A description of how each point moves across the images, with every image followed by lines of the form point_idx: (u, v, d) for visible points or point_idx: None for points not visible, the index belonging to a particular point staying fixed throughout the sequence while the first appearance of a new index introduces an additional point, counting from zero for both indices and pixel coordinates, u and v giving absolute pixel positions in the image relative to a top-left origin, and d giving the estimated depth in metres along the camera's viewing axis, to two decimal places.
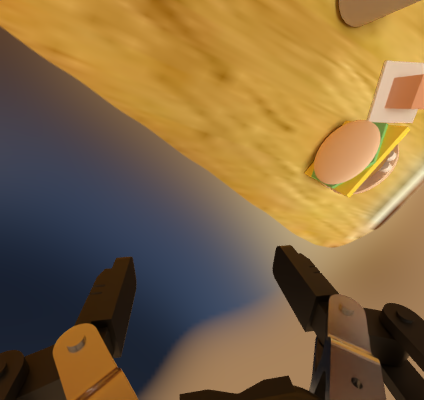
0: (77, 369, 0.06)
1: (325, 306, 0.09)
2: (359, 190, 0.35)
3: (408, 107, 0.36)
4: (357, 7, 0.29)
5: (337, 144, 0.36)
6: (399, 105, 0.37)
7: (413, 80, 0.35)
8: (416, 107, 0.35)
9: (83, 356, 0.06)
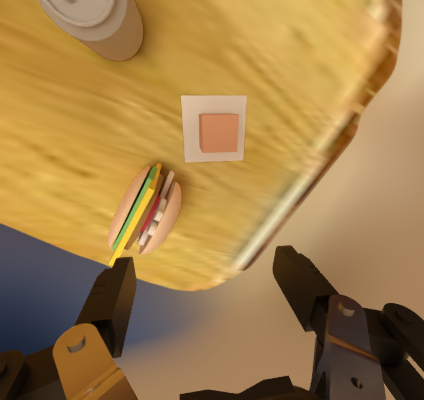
0: (77, 369, 0.06)
1: (325, 306, 0.09)
2: (141, 252, 0.29)
3: (202, 151, 0.30)
4: None
5: None
6: (201, 147, 0.31)
7: (201, 120, 0.29)
8: (209, 151, 0.30)
9: (83, 356, 0.06)
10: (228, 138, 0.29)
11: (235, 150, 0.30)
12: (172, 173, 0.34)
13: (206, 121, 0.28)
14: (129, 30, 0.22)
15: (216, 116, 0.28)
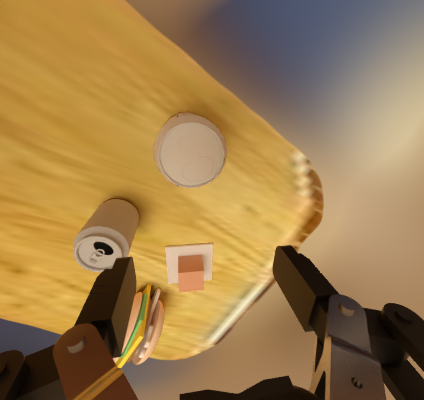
0: (77, 369, 0.06)
1: (325, 306, 0.09)
2: (134, 362, 0.42)
3: (179, 289, 0.43)
4: None
5: None
6: None
7: None
8: (184, 290, 0.43)
9: (83, 356, 0.06)
10: (197, 283, 0.42)
11: (202, 289, 0.43)
12: (158, 292, 0.47)
13: (181, 275, 0.41)
14: None
15: (188, 273, 0.41)
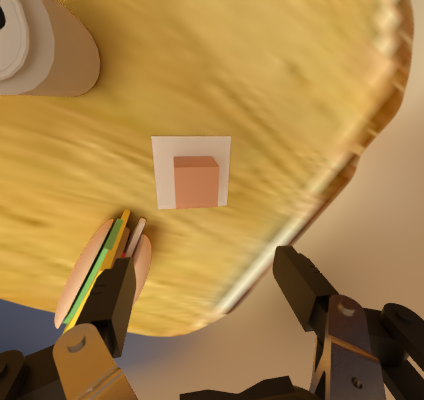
0: (77, 369, 0.06)
1: (325, 306, 0.09)
2: None
3: None
4: None
5: None
6: None
7: None
8: (184, 207, 0.25)
9: (83, 356, 0.06)
10: (207, 192, 0.24)
11: (215, 205, 0.25)
12: (142, 222, 0.29)
13: (180, 174, 0.23)
14: (69, 73, 0.16)
15: (192, 169, 0.23)
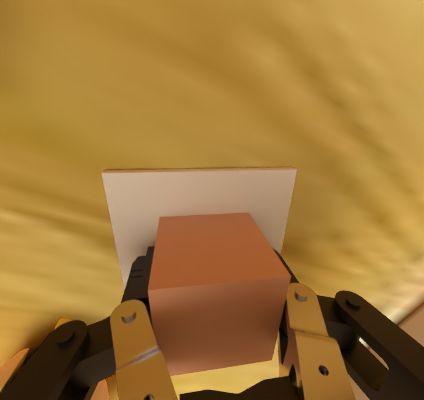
0: (135, 335, 0.07)
1: None
2: None
3: None
4: None
5: None
6: None
7: None
8: (183, 371, 0.09)
9: (132, 328, 0.07)
10: (247, 336, 0.09)
11: (266, 358, 0.09)
12: None
13: (169, 304, 0.07)
14: None
15: (207, 289, 0.07)
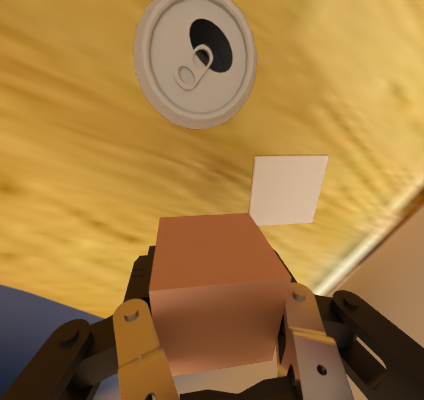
0: (138, 334, 0.07)
1: None
2: None
3: None
4: None
5: None
6: None
7: None
8: (184, 371, 0.09)
9: (135, 327, 0.07)
10: (247, 337, 0.09)
11: (267, 358, 0.10)
12: None
13: (170, 305, 0.07)
14: None
15: (207, 290, 0.07)
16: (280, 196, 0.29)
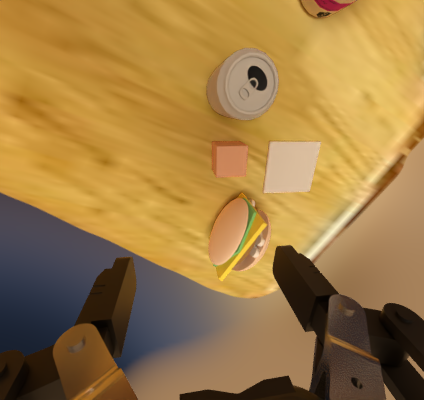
0: (77, 369, 0.06)
1: (325, 306, 0.09)
2: (238, 269, 0.36)
3: (216, 175, 0.35)
4: (216, 108, 0.31)
5: (221, 222, 0.38)
6: (214, 171, 0.36)
7: (215, 149, 0.34)
8: (222, 176, 0.34)
9: (83, 356, 0.06)
10: (238, 165, 0.34)
11: (244, 175, 0.35)
12: (253, 202, 0.41)
13: (220, 151, 0.33)
14: None
15: (229, 147, 0.33)
16: (286, 171, 0.41)
